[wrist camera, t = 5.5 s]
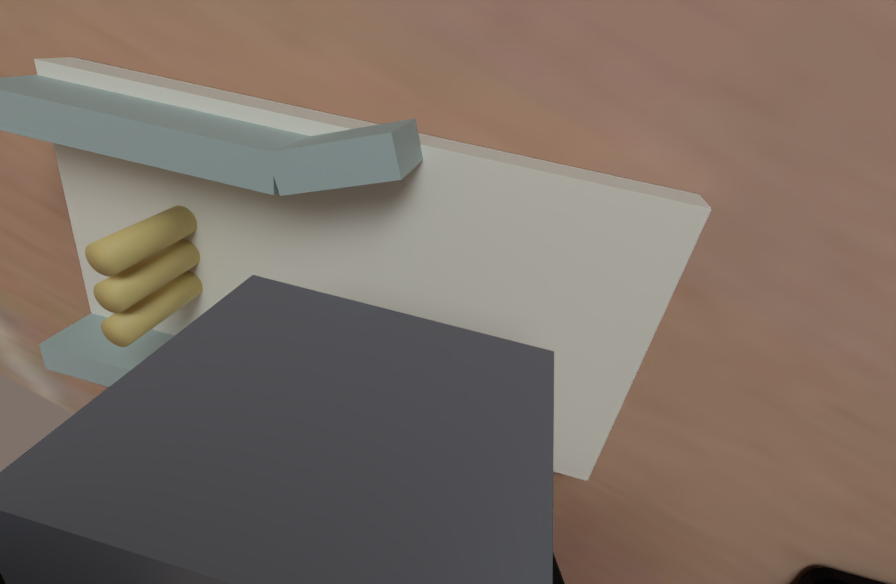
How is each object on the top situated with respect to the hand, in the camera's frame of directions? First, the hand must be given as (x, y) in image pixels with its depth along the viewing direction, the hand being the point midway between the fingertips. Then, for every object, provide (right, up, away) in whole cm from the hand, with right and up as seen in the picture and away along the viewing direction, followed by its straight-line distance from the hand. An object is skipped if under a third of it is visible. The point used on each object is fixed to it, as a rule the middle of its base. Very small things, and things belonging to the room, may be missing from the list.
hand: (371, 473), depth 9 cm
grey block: (0, 0, +1) cm, 1 cm away
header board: (-2, +4, +6) cm, 8 cm away
